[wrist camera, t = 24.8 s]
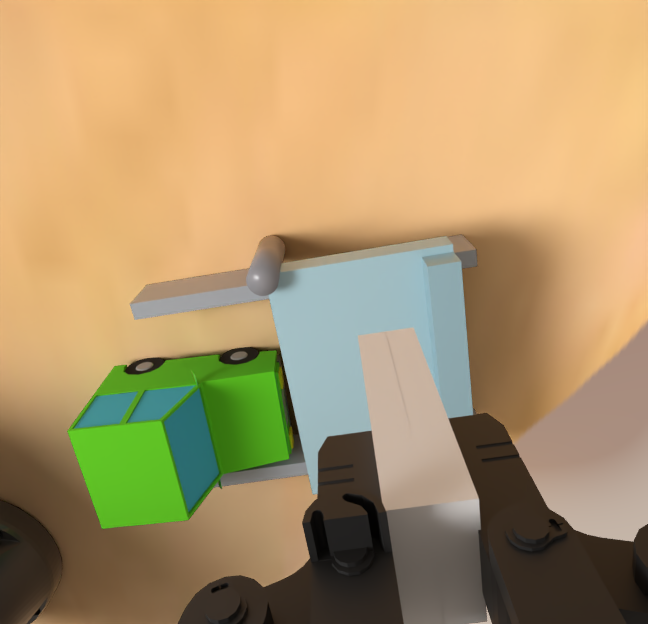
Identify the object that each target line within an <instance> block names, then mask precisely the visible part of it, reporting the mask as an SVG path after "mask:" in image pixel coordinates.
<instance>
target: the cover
mask: <svg viewBox="0 0 648 624" xmlns="http://www.w3.org/2000/svg"><path fill="white" fill-rule="evenodd" d="M284 255H285V244H284V242H283V241H282V240H281V239H280V238H279V237H276V236H266V237H264V238H263V239H262V240H261V241H260V243H259V245H258V248H257V250H256V253H255V256H254V258H253V261H252V263H251V266H250V269H249V271H248V274H247V277H246V283H247V286H248V288H249V289H250V291H251V292H253V293H254V294H256V295H259V296H267V295H269V300H270V304H271V309H272V313H273V318H274V322H275V327H276V331H277V336H278V340H279V345H280V349H281V354H282V358H283V363H284V367H285V372H286V376H287V381H288V385H289V390H290V394H291V399H292V403H293V408H294V412H295V417H296V421H297V426H298V430H299V435H300V439H301V444H302V448H303V453H304V457H305V462H306V466H307V471H308V475H309V480H310V484H311V489H312V493H313V494H318V451H319V450H320V448H321V446H322V445H323V443H324V441H325V440H326V438H327V437H328V436H335V435H343V434H350V433H357V432H364V431H372V430H371V423H370V416H369V410H368V403H367V396H366V389H365V382H364V376H363V369H362V362H361V355H360V348H359V342H358V335H365V334H372V333H379V332H386V331H392V330H399V329H406V328H414V330H415V333H416V335H417V338H418V341H419V343H420V346H421V349H422V351H423V354H424V356H425V359H426V362H427V364H428V367H429V369H430V372H431V375H432V377H433V380H434V383H435V385H436V388H437V390H438V393H439V396H440V398H441V401H442V403H443V406H444V409H445V411H446V414H447V417H448V418H454V417H462V416H469V415H473V407H472V394H471V382H470V369H469V356H468V343H467V330H466V317H465V304H464V291H463V278H462V266H461V260H460V259H459V258H458V257H457V255H456V254H455V253H454V251H453V244H452V242H451V241H450V240H449V239H448V238H447V236H443V237H437V238H431V239H425V240H419V241H413V242H407V243H401V244H395V245H389V246H383V247H377V248H370V249H364V250H358V251H352V252H346V253H340V254H334V255H328V256H322V257H316V258H310V259H304V260H298V261H292V262H286V263H283V260H284Z"/></svg>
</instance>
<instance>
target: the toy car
mask: <svg viewBox="0 0 648 624" xmlns="http://www.w3.org/2000/svg"><path fill="white" fill-rule="evenodd" d="M259 353H260V354H258V351H257V350H256V349H253V348H251V347H244V348H237V349H232V350H230V351H228V352H226V353H224V354H223V355H222V356H221V357H220V355H209V356H200V357H191V358H182V359H173V360H165V363H164V360H162V359H160V358H147V359H142V360H139V361H137V362H134V363H132V364H131V365H129V366H128V367H127V365H120V366H114V368H113V369H112V371H111V372H110V373H109V375H108V376H107V377H106V379H105V380H104V381H103V383H102V384H101V386H100V387H99V388H98V390H97V391H96V392H95V394H94V395H93V397H92V398H91V399H90V401H89V402H88V403H87V405H86V406H85V408H84V409H83V410H82V412H81V413H80V414H79V416H78V417H77V419H76V420H75V421H74V423H73V424H72V425H71V427H70V428H69V429H68V431H67V432H68V434H69V437H70V440H71V443H72V446H73V449H74V451H75V454H76V457H77V460H78V463H79V465H80V468H81V471H82V474H83V477H84V480H85V482H86V485H87V488H88V491H89V494H90V496H91V499H92V502H93V505H94V508H95V511H96V513H97V516H98V519H99V522H100V525H101V527H102V529H105V528H115V527H125V526H135V525H145V524H155V523H165V522H175V521H185V520H189V519H190V517H191V516H192V515H193V514H194V512H195V511H196V510H197V508H198V507H199V506H200V504H201V503H202V502H203V500H204V499H205V498H206V497H207V495H208V494H209V493H210V491H211V490H212V489H213V487H214V486H215V485H216V484H217V482H218V485H219V486H220V488H221V489H222V485H221V479H220V478H221V477H222V476H223V474H226V473H231V472H235V471H239V470H244V469H248V468H252V467H257V466H261V465H265V464H270V463H274V462H278V461H283V460H287V459H289V455H290V454H292V449H293V446H294V438H293V432H292V426H291V420H290V414H289V408H288V402H287V396H286V391H285V385H284V379H283V373H282V367H281V361H280V355H277V351H276V350H275V351H261V352H259Z"/></svg>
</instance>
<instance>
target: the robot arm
mask: <svg viewBox="0 0 648 624" xmlns="http://www.w3.org/2000/svg"><path fill="white" fill-rule="evenodd" d="M358 342H359V348H360V355H361V362H362V369H363V376H364V382H365V389H366V396H367V403H368V410H369V416H370V423H371V430H372V431H364V432H357V433H350V434H343V435H335V436H328V437H327V438H326V440H325V441H324V443H323V445H322V446H321V448H320V450H319V451H318V499H316V500H315V501H314V502H313V503H312V504H311V505H310V507H309V508H308V509H307V510H306V512H305V515H304V519H303V522H302V524H303V528H304V533H305V537H306V542H307V546H308V551H309V555H310V559H309V560H308V561H307V563H306V564H305V565H304V566H303V567H302V568H300V569H299V570H298V571H297V572H296V573H294V574H292V575H290V576H289V577H287V578H285V579H283V580H280V581H278V582H276V583H273V584H271V585H269V586H266V587H264V588H263V587H262V586H261V585H260V584H259V583H258V582H257V581H255V580H254V579H251V578H248V577H244V576H230V577H224V578H221V579H219V580H216V581H214V582H212V583H209V584H208V585H207V586H205V587H204V588H203V589H202V590H200V591H199V592H198V593H196V594H195V596H194V597H193V599H192V600H191V601H190V603H189V604H188V605H187V607H186V608H185V610H184V612H183V614H182V616H181V618H180V620H179V622H178V624H469V623H478V622H486V621H487V613H486V606H487V609H488V612H489V615H490V618H491V622H492V624H648V524H647V525H645V526H644V527H642V528H641V529H639V531H638V533H637V535H636V537H635V539H634V542H631V541H623V540H615V539H607V538H600V537H596V536H591V535H587V534H584V533H581V532H579V531H576V530H574V529H573V528H572V527H571V526H570V525H569V524H568V522H567V521H566V520H565V519H564V518H563V517H561V516H560V515H558V514H556V513H555V512H553V511H551V510H550V509H549V508H548V507H547V505H546V504H545V502H544V500H543V498H542V496H541V494H540V492H539V490H538V489H537V487H536V485H535V483H534V481H533V479H532V477H531V476H530V474H529V472H528V470H527V468H526V466H525V464H524V463H523V461H522V459H521V458H520V457H519V453H518V451H517V450H516V448H515V446H514V444H512V440H511V438H510V436H509V435H508V433H507V431H506V429H505V427H504V425H502V424H501V423H500V422H498V421H497V420H496V419H494V418H493V417H491V416H490V415H489V414H487V413H483V414H476V415H469V416H462V417H454V418H448V417H447V414H446V411H445V409H444V406H443V403H442V401H441V398H440V396H439V393H438V390H437V388H436V385H435V383H434V380H433V377H432V375H431V372H430V369H429V367H428V364H427V362H426V359H425V356H424V354H423V351H422V349H421V346H420V343H419V341H418V338H417V335H416V333H415V330H414V328H406V329H399V330H392V331H386V332H379V333H372V334H365V335H358ZM61 575H62V560H61V556H60V552H59V550H58V547H57V545H56V543H55V542H54V540H53V538H52V537H51V536H50V534H49V533H48V532H47V530H46V529H45V528H44V527H43V526H42V525H41V524H40V523H39V522H38V521H36V520H35V519H34V518H33V517H31V516H30V515H28V514H27V513H25V512H24V511H22V510H21V509H19V508H17V507H15V506H13V505H11V504H9V503H6V502H4V501H1V500H0V624H31V623H32V622H33V621H34V620H35V619H36V618H37V617H38V616H39V615H40V614H41V613H42V612H43V611H44V609H45V608H46V607H47V605H48V603H49V602H50V600H51V598H52V596H53V594H54V592H55V590H56V588H57V586H58V584H59V582H60V579H61Z"/></svg>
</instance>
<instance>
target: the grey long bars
mask: <svg viewBox="0 0 648 624" xmlns="http://www.w3.org/2000/svg"><path fill="white" fill-rule="evenodd" d="M447 238H448V239H449V240H450V241H451V242H452V244H453V251H454V253H455V254H456V255H457V257H458V258H459V259H460V260H461V266H462V269H463V268H469V267H476V266H477V253H476V249H475V247H474V246H473V245H472V244H471V243H470V242H469V241H468V240H467V239H466V238H465V237H464V236H463V235H456V236H449V237H447ZM249 269H250V268H249ZM249 269H243V270H236V271H230V272H224V273H218V274H211V275H205V276H199V277H193V278H186V279H180V280H174V281H167V282H161V283H155V284H149V285H146V286H145V287H144V288H143V290H142V291H141V292H140V293H139V294H138V295H137V296H136V298H135V299H134V300H133V301H132V302H131V303H130V306H131V309H132V313H133V316H134V319H135V320H137V319H143V318H149V317H156V316H162V315H169V314H175V313H181V312H188V311H194V310H201V309H207V308H213V307H220V306H226V305H233V304H239V303H245V302H252V301H258V300H265V299H269V295H267V296H259V295H256V294H254V293H253V292H251V291H250V289H249V288H248V286H247V283H246V277H247V274H248V271H249ZM473 415H476V412H475V409H473ZM293 438H294V446H293V449H292V454H290V455H289V459H287V460H283V461H278V462H274V463H270V464H265V465H261V466H257V467H252V468H248V469H244V470H239V471H235V472H231V473H226V474H223V476H222V477H221V478H220V479H221V485H222V486H229V485H236V484H243V483H251V482H258V481H265V480H272V479H280V478H287V477H294V476H301V475H308V471H307V466H306V462H305V457H304V453H303V448H302V444H301V439H300V435H299V434H295V435H293ZM214 487H220V486H219V485H218V482H217V484H216V485H215V486H214ZM214 487H213V488H214Z"/></svg>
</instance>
